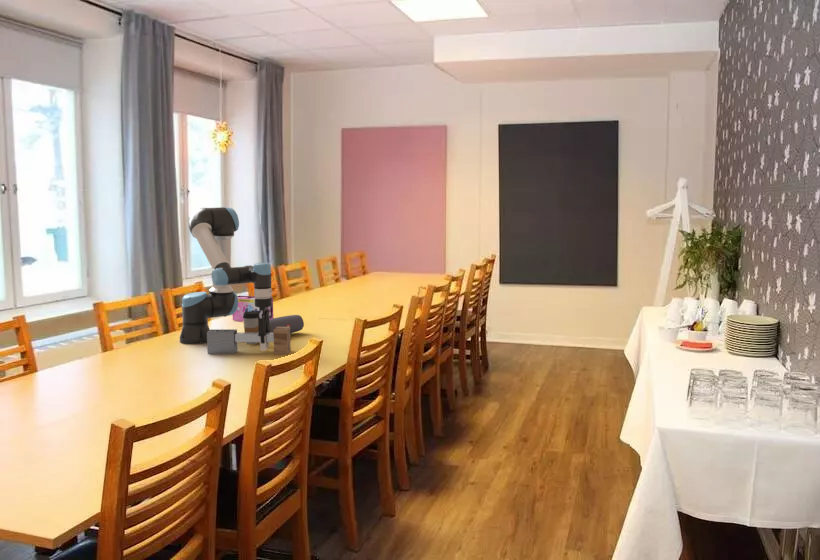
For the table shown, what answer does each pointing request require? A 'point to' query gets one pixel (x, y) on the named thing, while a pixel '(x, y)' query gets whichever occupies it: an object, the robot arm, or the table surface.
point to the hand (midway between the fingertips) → (264, 348)
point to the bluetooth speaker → (287, 323)
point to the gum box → (248, 307)
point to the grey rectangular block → (221, 342)
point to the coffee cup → (251, 323)
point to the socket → (282, 340)
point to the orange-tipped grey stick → (252, 337)
